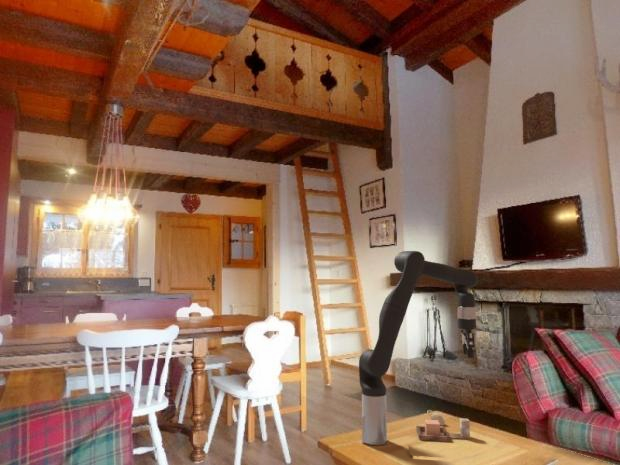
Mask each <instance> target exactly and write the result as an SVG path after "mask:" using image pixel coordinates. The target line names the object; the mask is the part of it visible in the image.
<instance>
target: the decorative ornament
mask: <svg viewBox="0 0 620 465" xmlns="http://www.w3.org/2000/svg"><path fill="white" fill-rule="evenodd" d="M426 413H427V415H428V416H430V420H438V421H439V424H440V427H444V426H445V425H446V422H445V419H444V417H443V416H442V415H441V414H440V413H438V412H434V411H433V410H432V409H428V410H427V412H426ZM430 413H432V414H430Z"/></svg>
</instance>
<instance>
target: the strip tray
mask: <svg viewBox="0 0 620 465" xmlns="http://www.w3.org/2000/svg"><path fill="white" fill-rule="evenodd" d="M470 421H471V420H469V418H463V417H462V418H459V433H455V432H453V433H451V432H448V430H447V429H446V427H445V426H440V436H437V435H426V434H425V425H416V426H415V428H416V429H415V430H416V434H417V437H418V440H419V441H428V442H429V441H430V442H431V441H432V442H449V443H450V442H451V440H463V441H465V440H467V441H471V440H472V438H471V428H470V427H471V426H470V425H471V424H470Z"/></svg>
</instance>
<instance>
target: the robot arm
mask: <svg viewBox="0 0 620 465" xmlns="http://www.w3.org/2000/svg"><path fill="white" fill-rule="evenodd" d="M393 262H394V263H393V264H394V266H395V268H396V270H397V271H398V272H400V273H402V275H401V277H400V279H399V281H398V283H397V284H396V285H395V287H394V288H393V289H392V290H391V291H390V292H389V294H388V295H387V296H386V298H385V299H384V302H383V304H382V307H381V310H380V312H379V317H378V336H377V341H376V343H375V346H374V348H373V349H371V348H369V349H365V350H364V351H363V352H362V353H361V354H360V357H359V359H358V360H359V361H358V375H359V376H358V378H359V385H360V388H361V444H367V445H371V446H382V445H384V444H387V442H388V430H387V426H388V423H387V422H388V421H387V420H388V419H387V386H386V385H385V383H384V381H383V379H382V378H383V376H385V375H386V374H387V373H388V372H389V368H390V365H391V361H392V357H393V353H394V349H395V345H396V342H397V338H398V336H399V333H400V330H401V326H402V324H403V321H404V319H405V317H406V313H407V310H408V308H409V304H410V302H411V298H412V296H413V293H414V290H415V288H416V286H417V284H418V281H419V279H420V277H421V276H425V277H428V278H431V279H435V280H438V281H442V282H445V283H448V284H449V283H450V284H453V287H454V290H455V294H456V296H457V328H458V329H459V330H460V332H461V333H460V335H461V336H460V338H461V339H460V340H461V345H462V354H463V355H466V357H467V358H468V359H473V358H474V349H475V348H476V347H475V334H474V333H473V331H472V330H476V329H477V312H476V299H475V294H473V293H471V292H469V291H468V288H473V287H475V286H477V285H478V283H479V277H478V274H476V272H474V271H473V270H470V269H464V268H457V267H454V266H451V265H447V264H444V263H439V262H433V261H430V260H429V261H428V260H426V259H425V256H424V254H423V253H422V252H421V251H417V250H403V251H401V252H398V253H397V254H396V255H395V257H394V260H393Z"/></svg>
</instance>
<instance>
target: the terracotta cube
mask: <svg viewBox="0 0 620 465" xmlns="http://www.w3.org/2000/svg"><path fill="white" fill-rule="evenodd" d="M424 426H425V434H426V435H437V436H440V427H441V425H440V424H439V421H438V420H431V419H424Z"/></svg>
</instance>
